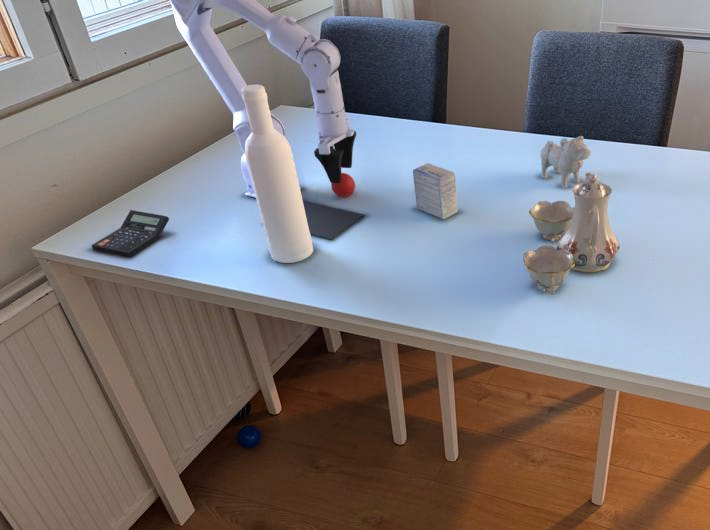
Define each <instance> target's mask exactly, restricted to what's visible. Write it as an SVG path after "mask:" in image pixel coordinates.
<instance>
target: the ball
mask: <svg viewBox="0 0 710 530" xmlns="http://www.w3.org/2000/svg"><path fill="white" fill-rule="evenodd" d="M341 175H342V178H341V183H331V182H330V187H331V190H332V192H333V193H334V194H335V196H336V197H337V196H338V197H340V198H348V197H350V196H351V195H353V193H354V192H355V189H356V183H355V180H354V178H353V177H352V176H351V175H350V174H348V173H345V172H341Z"/></svg>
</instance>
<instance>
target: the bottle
mask: <svg viewBox="0 0 710 530" xmlns="http://www.w3.org/2000/svg"><path fill="white" fill-rule="evenodd" d="M242 99H243V101H244V103H245V107H246V111H247V115H248V119H249V122H250V126H251V130H252V133H251V134H250V136H249V137H248V138H247V140H246V142H245V158H246V162H247V166H248V170H249V174H250V177H251V181H252V185H253V189H254V192H255V196H256V198H255V200H256V203H257V207H258V210H259V211H258V212H259V214H260V218H261V222H262V226H263V230H264V233H265V237H266V243H267V248H268V251H269V252H270V256H271V258H272V259H273V261H275V262H278V263H282V264H292V263H299V262H301V261H304V260H305V259H307V258H308V257H310V256H311V255H312V254H313V252H314V246H313V239H312V235H310V232H309V228H308V223H307V218H306V214H305V209H304V205H303V200H304V199H303V196H302V191H301V189H300V187H299V186H300V181H299V178H298V174H297V168H296V164H295V160H294V155H293V150H292V146H291V145H290V142H289V141H288V139H287V138H286V135H285V136H284V135H282V134H281V133H279V132H278V131H276V130H275V129H274V127H273V123H272V118H271V114H270V111H271V110H270V106H269V102H268V99H269V98H268V94H267V92H266V87H265V86H263V85H262V84H248V85H247V86H245V87H243V89H242Z"/></svg>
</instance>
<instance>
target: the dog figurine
mask: <svg viewBox="0 0 710 530" xmlns="http://www.w3.org/2000/svg"><path fill="white" fill-rule="evenodd" d="M591 154H592V151H591V150H590V149H589V148H588V146H587V144H586V143H585V142H584V136H583V135H579V136H577V137H573V138H572V139H570V140H568V139H567V138H565V137H563V138H561V139H560V141H559V144H557V143H555V142H554V141H551V140H548V141H546V143H545V144H544V146H543V148H542V149H541V150H540V152H539V156H540V160H541V163H540V166H541V178H542V179H548V178H549V176H548V174H547V170H548V168H550V167H552V168H553V173H554V174H560V178H561V179H560V181H561V182H560V187H561V188H563V189H566V188H568V187H569V185H568V181H569V178H570V175H571V174H572V181H573V183H575V184H580V182H581V180H580V176H579V175H580V170H581V169H582V167H583V165H584V160H587V159H588V158H589V157H590V156H591Z"/></svg>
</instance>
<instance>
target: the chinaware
mask: <svg viewBox="0 0 710 530" xmlns="http://www.w3.org/2000/svg"><path fill="white" fill-rule="evenodd" d="M584 178H585V179H584V182H581V183H576V185H575V186H572V190H571V191H572V193H573V195H574V207H572V206H571V205H570V204H569V203H568V202H567V201H565V200H557V201H553V202H550V201H547V200H542V201H538V202H537V203H535V205H534V206H533V207H532V208H530V209H529V210H528V214H529V215H530V216H531V217H532V218H533V221H534V225H535V227H536V229H537V230H538V231H539V232H540V233H541V234H542V236H543V240H547V241H552V242H554V241H558V242H557V244H556V247H554V246H552V245H543V246H542V245H541V246H539V247H537V248H536V249H535V250H527V251H526V252H525V253H523V264H524V267H525V268H526V270H527V272H528V275H529V278H531V280H532V281H533V282H534V283H535V284H537V286H536V287H537V288H538V289H539V290H540V291H541V292H547V293H550V295H551V296H553V295H554V294H555V292H556V290H557V289H558V288H559V286H560V284H562V283H563V282H564V281H565V280H566V279H567V277H568V275H569V273H570V271H573V272H576V273H581V274H598V273H601V272H603V271H606V270H607V269H608V268H610V266H611V263H612V262H613V260H614V259H615V257H616V254H617V253H618V252H619V250H620V248H621V245H620V242H619V239H618V238H617V236H616V235H615V232H614V231H613V229H612V228H611V224H610V220H609V213H608V205H609V200H610V196H611V195H612V193H613V189H612V188H611V186H609V185H607V184H606V183H602V182H601V181H600V180H598V179H599V178H598V176H596V173H592V172H587V173H585V175H584Z"/></svg>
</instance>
